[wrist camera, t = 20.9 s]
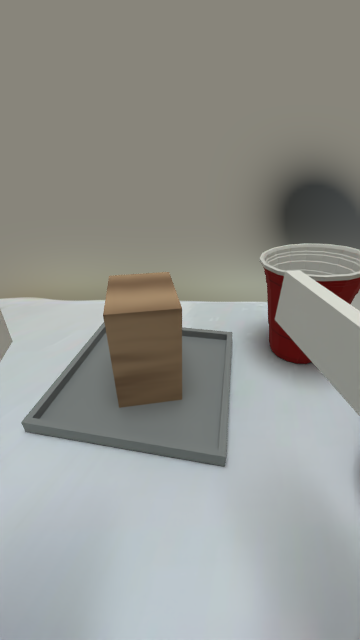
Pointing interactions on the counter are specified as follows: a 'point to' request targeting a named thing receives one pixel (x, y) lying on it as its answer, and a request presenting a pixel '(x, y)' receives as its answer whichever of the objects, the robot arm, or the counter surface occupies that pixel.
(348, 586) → the counter surface
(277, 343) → the plastic cup
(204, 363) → the tray
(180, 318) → the walnut block
